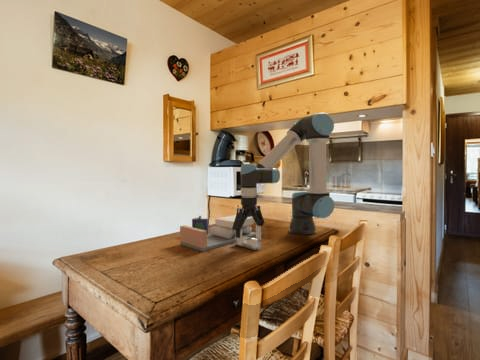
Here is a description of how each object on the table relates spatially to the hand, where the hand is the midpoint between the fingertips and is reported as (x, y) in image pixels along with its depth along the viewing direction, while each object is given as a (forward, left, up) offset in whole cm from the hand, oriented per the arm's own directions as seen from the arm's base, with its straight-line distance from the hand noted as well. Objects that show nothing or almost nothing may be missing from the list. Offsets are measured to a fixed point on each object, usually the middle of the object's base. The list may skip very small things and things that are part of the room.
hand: (249, 241), depth 128 cm
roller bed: (+19, 0, -2) cm, 19 cm away
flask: (+37, +1, -2) cm, 37 cm away
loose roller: (0, 0, -2) cm, 2 cm away
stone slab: (+19, -9, +4) cm, 21 cm away
